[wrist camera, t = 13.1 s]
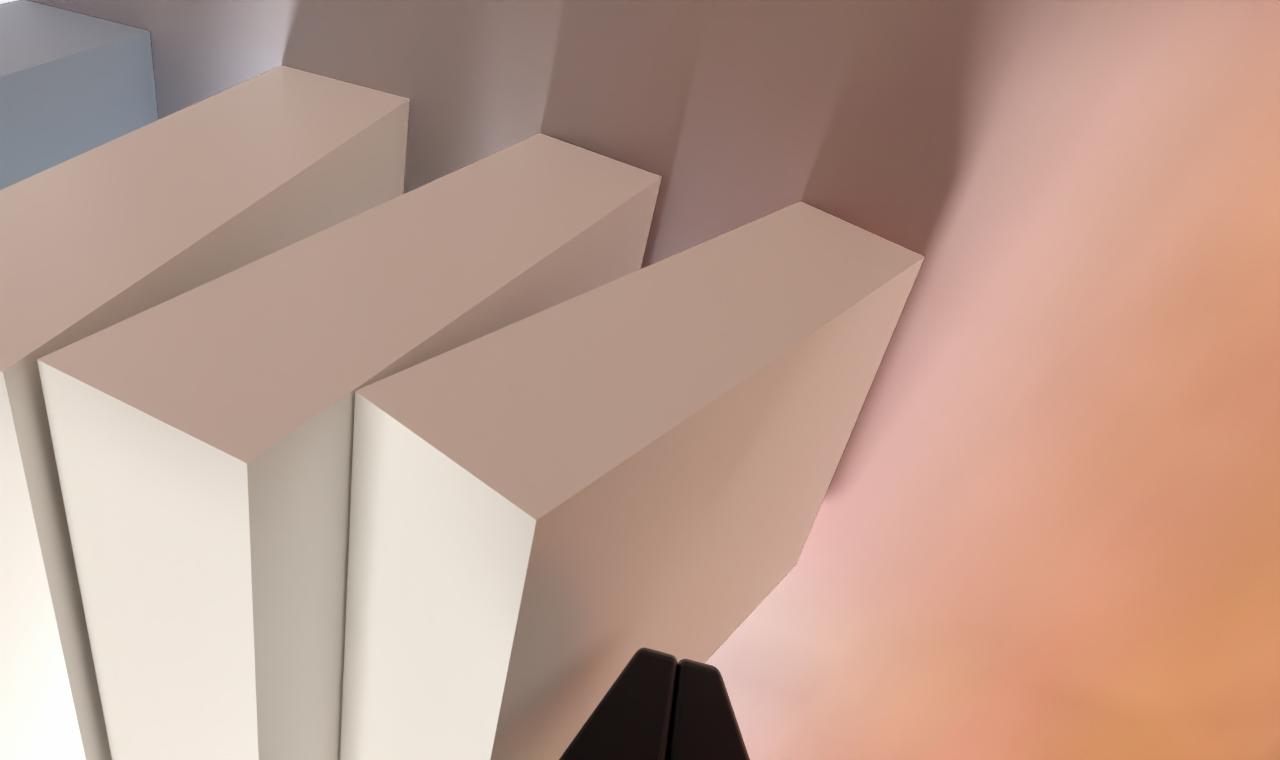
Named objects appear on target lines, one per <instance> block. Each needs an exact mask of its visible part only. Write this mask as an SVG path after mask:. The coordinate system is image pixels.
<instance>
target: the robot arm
mask: <svg viewBox="0 0 1280 760" xmlns="http://www.w3.org/2000/svg"><path fill="white" fill-rule="evenodd" d="M559 760H750V759H749V756H748V753H747V750H746V747H745V744H744V741H743V738H742V735H741V732H740V729H739V726H738V723H737V720H736V717H735V714H734V711H733V708H732V705H731V702H730V699H729V696H728V693H727V690H726V687H725V684H724V681H723V678H722V676H721V674H720V672H719V670H718V669H717V668H716V667H714V666H711V665H708V664H704V663H700V662H697V661H693V660H689V659H682V660H680V661H679V662H677V658H676V657H675V656H673V655H671V654H668V653H664V652H660V651H657V650H653V649H649V648H645V647H643V648H640V649H639V650H637V652H636V653H635V654H634V655H633V657H632V658H631V660H630V661H629V662H628V664H627V665H626V667H625V668H624V669H623V671H622V672H621V674H620V675H619V676H618V678H617V679H616V681H615V682H614V683H613V685H612V686H611V688H610V689H609V690H608V692H607V693H606V695H605V696H604V697H603V699H602V700H601V701H600V703H599V704H598V706H597V707H596V708H595V710H594V711H593V713H592V714H591V715H590V717H589V718H588V720H587V721H586V722H585V724H584V725H583V727H582V728H581V729H580V731H579V732H578V734H577V735H576V736H575V738H574V739H573V741H572V742H571V743H570V745H569V746H568V748H567V749H566V750H565V752H564V753H563V755H562V756H561V757H560V759H559Z"/></svg>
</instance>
